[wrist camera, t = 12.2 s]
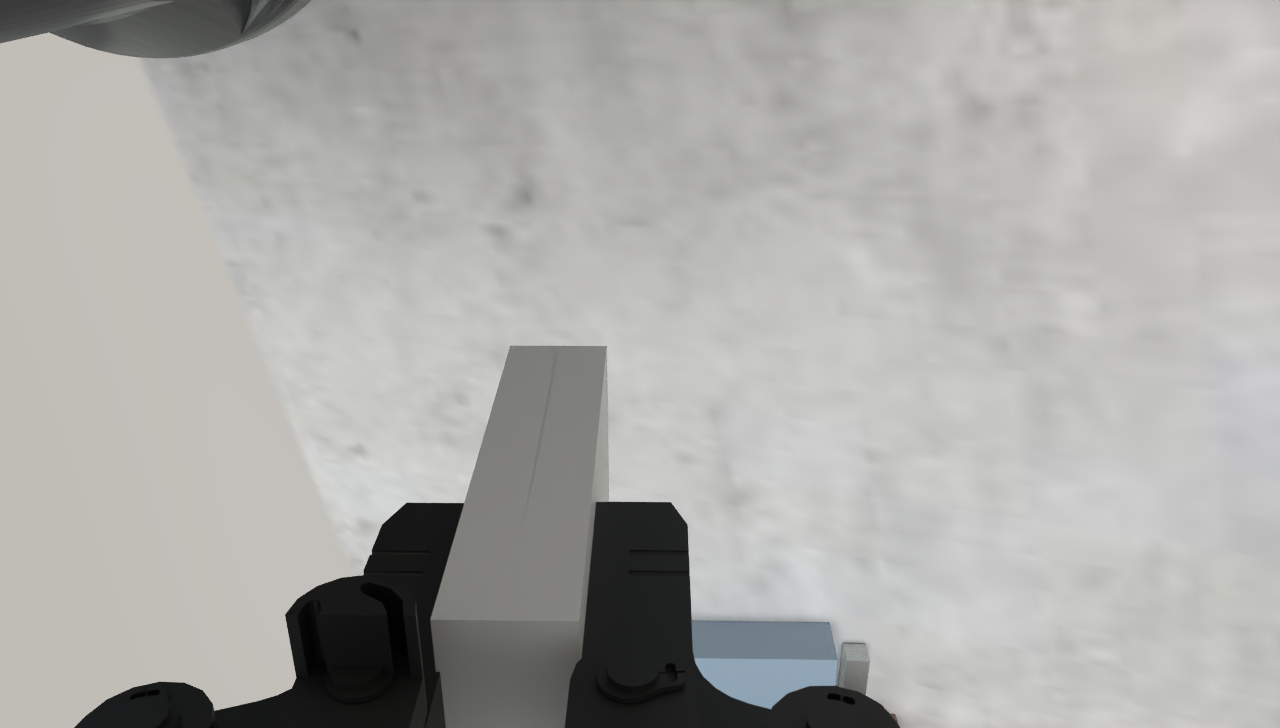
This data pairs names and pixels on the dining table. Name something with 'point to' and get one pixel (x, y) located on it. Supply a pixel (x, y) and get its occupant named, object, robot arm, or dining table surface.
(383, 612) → the robot arm
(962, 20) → the dining table surface
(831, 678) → the light blue block
